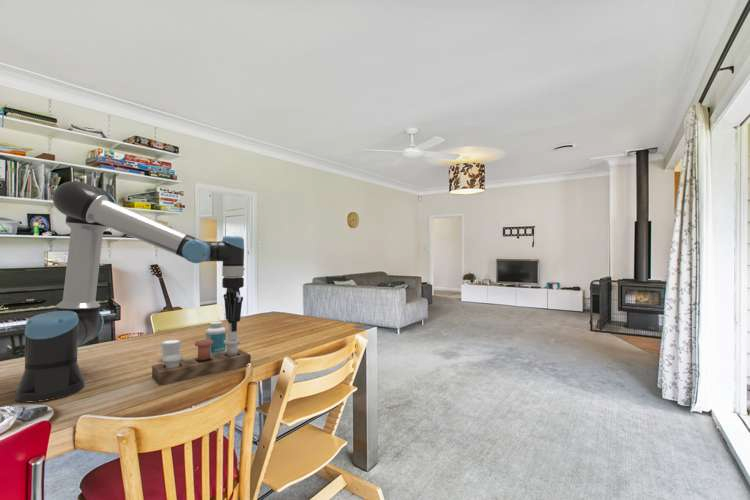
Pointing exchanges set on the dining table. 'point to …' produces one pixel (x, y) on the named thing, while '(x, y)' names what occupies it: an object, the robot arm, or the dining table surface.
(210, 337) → the pill bottle
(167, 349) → the light grey flanged plug
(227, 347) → the grey plug right
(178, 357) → the grey plug left
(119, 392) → the dining table surface
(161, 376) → the press board
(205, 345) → the brick-red plug
